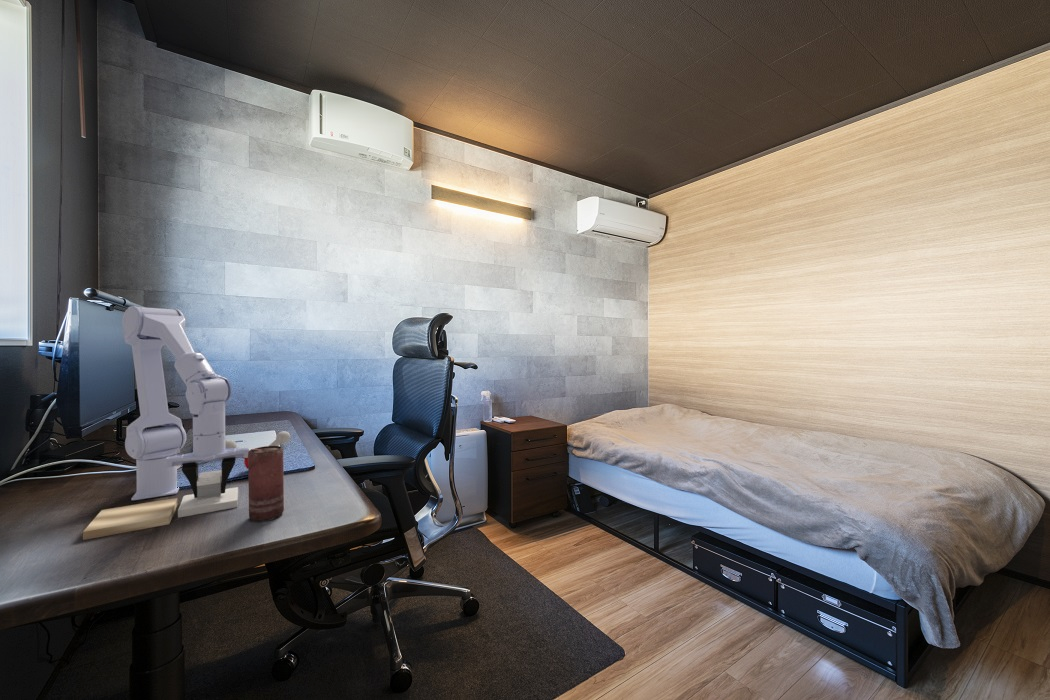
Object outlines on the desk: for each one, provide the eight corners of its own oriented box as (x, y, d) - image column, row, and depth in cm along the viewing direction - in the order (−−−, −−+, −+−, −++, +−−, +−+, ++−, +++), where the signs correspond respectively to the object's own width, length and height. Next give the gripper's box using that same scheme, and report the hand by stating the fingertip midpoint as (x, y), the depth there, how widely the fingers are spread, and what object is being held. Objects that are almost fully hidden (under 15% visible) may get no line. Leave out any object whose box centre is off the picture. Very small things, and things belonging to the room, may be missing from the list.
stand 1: (102, 517, 86) (101, 509, 86) (177, 504, 92) (177, 497, 92) (82, 540, 76) (82, 531, 76) (169, 524, 82) (169, 516, 82)
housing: (200, 494, 94) (200, 472, 94) (222, 491, 96) (221, 469, 96) (197, 504, 88) (196, 481, 88) (220, 500, 90) (220, 477, 90)
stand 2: (184, 502, 94) (183, 495, 94) (238, 493, 99) (238, 487, 99) (177, 517, 85) (177, 510, 85) (237, 507, 91) (237, 500, 91)
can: (250, 513, 88) (250, 446, 87) (285, 508, 90) (284, 443, 90) (244, 524, 82) (243, 453, 82) (281, 519, 85) (280, 450, 84)
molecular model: (224, 480, 108) (223, 442, 108) (215, 476, 112) (215, 439, 111) (293, 464, 123) (293, 430, 123) (284, 461, 126) (284, 428, 126)
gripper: (163, 440, 85) (164, 507, 85) (248, 432, 93) (249, 493, 93) (168, 434, 90) (169, 496, 91) (248, 426, 99) (249, 484, 99)
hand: (210, 494), depth 92 cm, fingers closed on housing, 4 cm apart
